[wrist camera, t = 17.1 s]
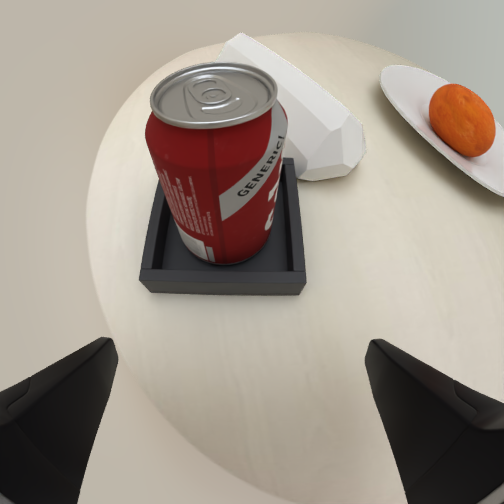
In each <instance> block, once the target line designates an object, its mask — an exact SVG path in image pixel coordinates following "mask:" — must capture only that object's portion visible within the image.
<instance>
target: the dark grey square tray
mask: <svg viewBox="0 0 504 504" xmlns="http://www.w3.org/2000/svg"><path fill="white" fill-rule="evenodd" d="M305 271H306V270H305V258H304V246H303V236H302V225H301V216H300V207H299V198H298V189H297V181H296V173H295V166H294V159H293V158H286V157H283V160H282V167H281V173H280V179H279V185H278V191H277V197H276V203H275V209H274V215H273V221H272V227H271V232H270V235H269V238H268V240H267V242H266V244H265V245H264V246H263V248H262V249H261V250H260V251H259V252H258V253H257V254H255V255H254V256H252V257H251V258H249V259H247V260H245V261H243V262H240V263H236V264H231V265H217V264H212V263H208V262H205V261H203V260H201V259H199V258H198V257H196V256H195V255H193V254H192V253H191V252H190V251H189V250H188V249H187V247H186V246H185V244H184V242H183V240H182V238H181V235H180V233H179V230H178V228H177V225H176V223H175V220H174V217H173V215H172V212H171V210H170V207H169V204H168V202H167V199H166V196H165V194H164V191H163V188H162V186H161V183H160V180H159V181H158V185H157V189H156V193H155V198H154V202H153V206H152V211H151V216H150V220H149V225H148V230H147V235H146V241H145V246H144V252H143V257H142V263H141V270H140V276H139V281H140V282H141V283H142V284H143V285H144V286H145V287H146V288H147V289H148V290H149V291H150V292H153V293H176V294H206V295H299V294H300V293H301V291H302V289H303V288H304V286H305V285H306V283H307V282H306V272H305Z"/></svg>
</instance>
